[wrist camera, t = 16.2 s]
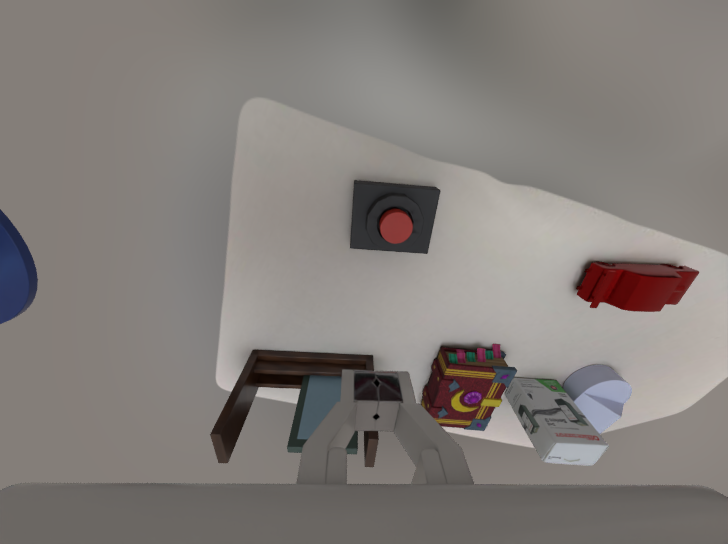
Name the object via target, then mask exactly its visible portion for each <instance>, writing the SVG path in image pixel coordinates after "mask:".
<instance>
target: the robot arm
mask: <svg viewBox="0 0 728 544" xmlns="http://www.w3.org/2000/svg"><path fill="white" fill-rule="evenodd" d="M355 431H390V432H394V434H395V435H396V437H397V438H398V440H399V441H400V443H401V445H402V446H403V448H404V449H405V451H406V452H407V454H408V455H409V457H410V458H411V460H412V461H413V463H414V464H415V466H416V470H415V473H414V476H413V479H412V483H411V484H347V483H346V482H347V451H346V450H345V448H346V447H347V445H348V443H349V441H350V440H351V438H352V436H353V434H354V432H355ZM0 544H728V497H726V496H724V495H723V494H721V493H719V492H717V491H715V490H714V489H711V488H708V487H705V486H699V485H501V484H500V485H499V484H498V485H496V484H486V485H484V484H480V485H479V484H474V482H473V479H472V477H471V474H470V471H469V468H468V465H467V462H466V460H465V457H464V454H463V451H462V448H461V447H460V446H459V445H458V444H457V443H456V442H455V441H454V440H453V439H452V438H451V436H450V435H449V434H448V433H447V432H446V431H445V430H444V429H443V428H442V427H441V426H440V425H439V424H438V423H437V422H436V420H435V419H434V418H433V417H432V416H431V415H430V414H429V413H428V412H427V411H426V410H425V409H424V408H423V407H422V406H421V404H417V403H416V400H415V396H414V391H413V387H412V383H411V379H410V375H409V373H408V372H406V371H397V372H396V371H366V370H354V371H353V370H346V369H342V379H341V396H340V402H336V404H335V405H334V406H333V408H332V409H331V410H330V411H329V413H328V414H327V415H326V417H325V418H324V419H323V420H322V422H321V423H320V424H319V426H318V427H317V428H316V430H315V431H314V432H313V433H312V435H311V436H310V437H309V439H308V440H307V441H306V443H305V444H304V445H303V449H302V454H301V460H300V466H299V472H298V478H297V483H296V484H181V483H178V484H177V483H176V484H175V483H174V484H172V483H169V484H168V483H20V484H15V485H11V486H9V487H6V488H4V489H2V490H0Z"/></svg>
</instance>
